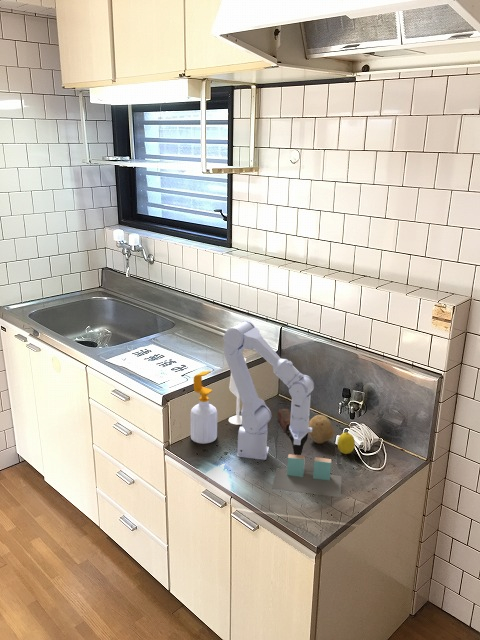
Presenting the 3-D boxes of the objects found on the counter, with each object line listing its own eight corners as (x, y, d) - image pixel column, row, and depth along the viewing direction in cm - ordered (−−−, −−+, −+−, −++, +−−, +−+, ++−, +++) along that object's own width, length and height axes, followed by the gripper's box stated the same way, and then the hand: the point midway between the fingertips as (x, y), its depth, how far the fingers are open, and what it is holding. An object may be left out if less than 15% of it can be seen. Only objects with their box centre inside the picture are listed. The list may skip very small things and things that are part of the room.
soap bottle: (207, 447, 186) (207, 379, 179) (185, 439, 191) (184, 372, 183) (222, 435, 193) (223, 370, 186) (200, 428, 198) (200, 364, 190)
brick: (277, 420, 206) (277, 408, 204) (287, 419, 206) (288, 407, 205) (285, 434, 196) (286, 422, 194) (296, 433, 197) (297, 421, 195)
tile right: (313, 478, 169) (314, 461, 168) (313, 474, 171) (314, 457, 170) (329, 480, 169) (331, 463, 167) (329, 476, 171) (331, 459, 169)
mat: (272, 489, 164) (272, 488, 164) (276, 469, 174) (276, 468, 174) (340, 498, 161) (341, 497, 161) (341, 477, 171) (341, 476, 171)
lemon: (353, 459, 181) (355, 437, 178) (336, 457, 182) (338, 435, 179) (353, 450, 186) (355, 429, 184) (336, 448, 187) (338, 427, 185)
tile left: (286, 475, 171) (287, 457, 169) (287, 471, 173) (288, 454, 171) (303, 477, 170) (304, 459, 168) (303, 473, 172) (304, 456, 170)
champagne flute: (234, 426, 200) (236, 364, 193) (225, 418, 206) (226, 357, 198) (250, 421, 204) (252, 360, 196) (240, 414, 209) (242, 354, 202)
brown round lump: (300, 437, 194) (302, 411, 190) (323, 433, 197) (325, 408, 194) (313, 450, 186) (315, 423, 182) (336, 446, 189) (339, 419, 186)
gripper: (311, 427, 164) (308, 467, 168) (314, 405, 177) (311, 443, 181) (287, 424, 165) (285, 465, 169) (292, 403, 178) (290, 441, 182)
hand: (297, 453), depth 175 cm, fingers closed
